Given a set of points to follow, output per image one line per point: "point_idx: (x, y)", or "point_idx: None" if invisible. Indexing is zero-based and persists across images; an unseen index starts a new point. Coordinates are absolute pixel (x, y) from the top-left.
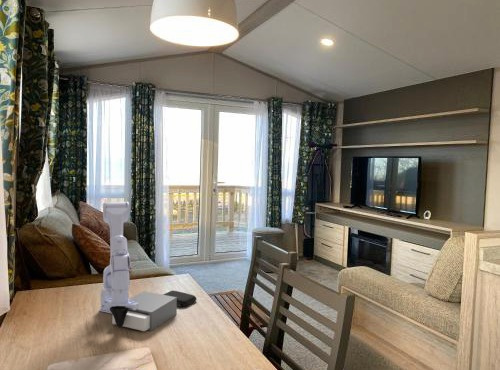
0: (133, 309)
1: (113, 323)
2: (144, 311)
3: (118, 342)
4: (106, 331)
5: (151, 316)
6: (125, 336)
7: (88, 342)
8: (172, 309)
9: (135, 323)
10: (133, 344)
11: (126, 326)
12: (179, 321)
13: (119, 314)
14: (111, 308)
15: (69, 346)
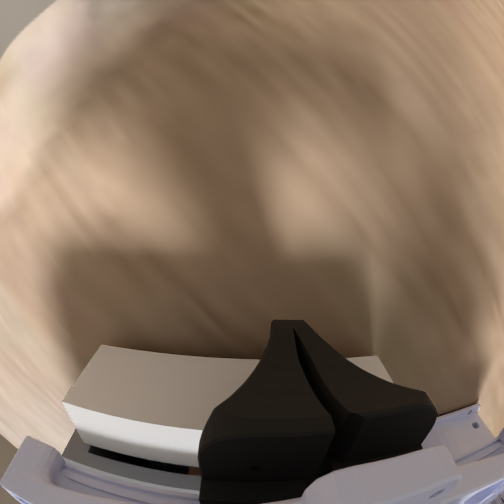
0: (37, 444)
1: (369, 358)
2: (122, 471)
3: (168, 168)
4: (369, 275)
5: (74, 435)
6: (186, 266)
7: (377, 93)
8: None
9: (160, 381)
10: (67, 194)
11: (253, 362)
12: None
13: (251, 388)
14: (410, 419)
15: (430, 35)
